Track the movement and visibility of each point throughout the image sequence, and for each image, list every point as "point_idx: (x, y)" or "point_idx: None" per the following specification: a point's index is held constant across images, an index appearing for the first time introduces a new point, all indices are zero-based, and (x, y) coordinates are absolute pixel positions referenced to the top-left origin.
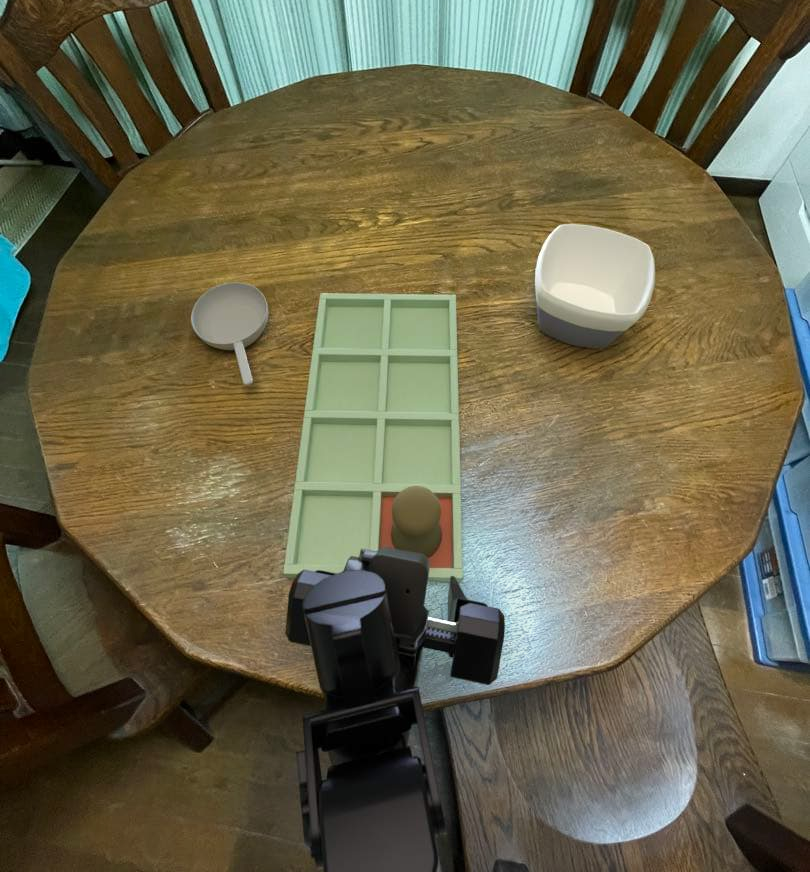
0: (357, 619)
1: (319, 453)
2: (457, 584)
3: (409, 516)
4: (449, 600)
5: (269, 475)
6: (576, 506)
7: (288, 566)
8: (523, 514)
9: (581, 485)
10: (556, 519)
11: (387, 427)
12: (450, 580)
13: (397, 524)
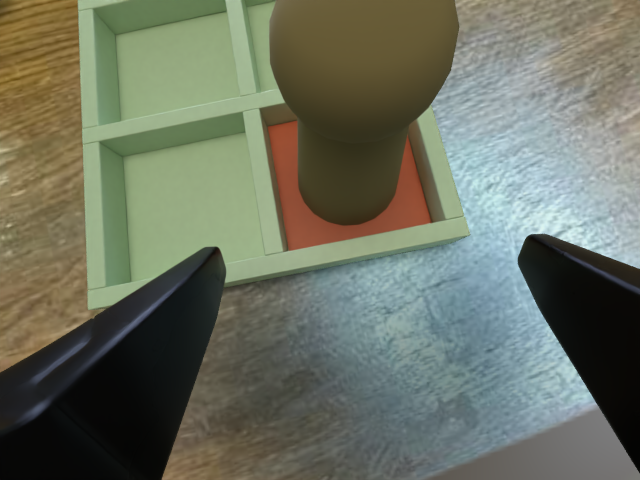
0: None
1: (135, 80)
2: (613, 262)
3: (346, 31)
4: (598, 335)
5: (56, 140)
6: (632, 64)
7: (96, 293)
8: (536, 100)
9: (630, 27)
10: (601, 95)
11: (250, 10)
12: (559, 251)
13: (302, 94)
